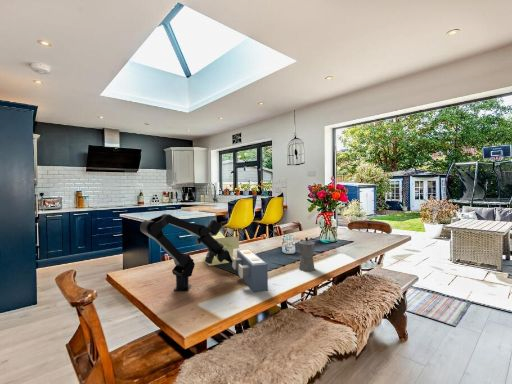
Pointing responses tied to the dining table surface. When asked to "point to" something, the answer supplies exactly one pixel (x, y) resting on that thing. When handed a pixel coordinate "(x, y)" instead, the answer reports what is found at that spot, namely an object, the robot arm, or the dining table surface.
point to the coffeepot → (306, 255)
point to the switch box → (254, 270)
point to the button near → (243, 270)
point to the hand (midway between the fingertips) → (231, 262)
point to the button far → (236, 262)
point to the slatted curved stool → (225, 246)
